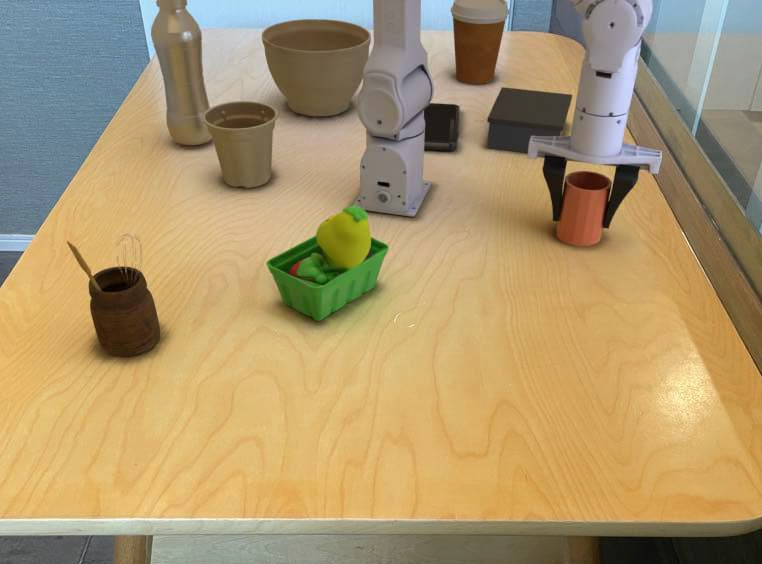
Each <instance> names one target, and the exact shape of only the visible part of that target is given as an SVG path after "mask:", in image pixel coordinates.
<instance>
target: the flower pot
mask: <svg viewBox="0 0 762 564" xmlns="http://www.w3.org/2000/svg"><path fill="white" fill-rule="evenodd" d="M278 116H279V112H278V110H277V108H275V107H274V106H272V105H270V104H267V103H264V102H260V101H253V100H236V101H228V102H223V103H219V104H217V105H214V106H210V108H209V109H208V110H206V111H205V112H204V113H203V116H202V119H203V122H204V123H205V124H206V125H207V128H208V131H209V133H210V134H211V135H212V139H211V140H212V142H213V145H214V149H215V153H216V156H217V160H218V163H219V166H220V170H221V174H222V177H223V181H224V183H226V184H227V185H229V186H231V187H234V188H238V187H243V188H247V189H253V188H258V187H260V186H263V185H265V184H266V183H268V182H269V181H270V178H271V177H272V161H273V141H274V140H273V137H274V130H275V127H276V121H277V119H278Z"/></svg>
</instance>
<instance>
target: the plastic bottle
mask: <svg viewBox="0 0 762 564" xmlns="http://www.w3.org/2000/svg"><path fill="white" fill-rule="evenodd" d="M155 5H156V7H157V8H159V10H158V12H157V14H156V16H155V18H154V20H153V22H152V24H151V28H150V36H151V40H152V44H153V47H154V50H155V53H156V57H157V59H158V63H159V67H160V72H161V75H162V80H163V84H164V92H165V93H164V94H165V104H166V114H165V118H166V119H165V120H166V127H167V130H168V133H169V136H170V137H171V138H172V139H173V140H174V142H175V143H178V144H180V145H185V146H198V145H203V144H205V143H208V142H209V141H211V140H213V139H212V135H211V134H210V133H209V131H208V128H207V125H206V124H205V123H204V122H203V119H202V116H203V113H204V112H205V111H206V110H208V109H209V108H211V105H210V101H209V98H208V93H207V89H206V84H205V77H204V68H203V67H204V66H203V33H202V30H201V28H200V26H199V23H198V22H197V21H196V19H195V18H194V17H193V16H192V14H191V13H190V12H189V10H187V6H188V0H156V1H155Z"/></svg>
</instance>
